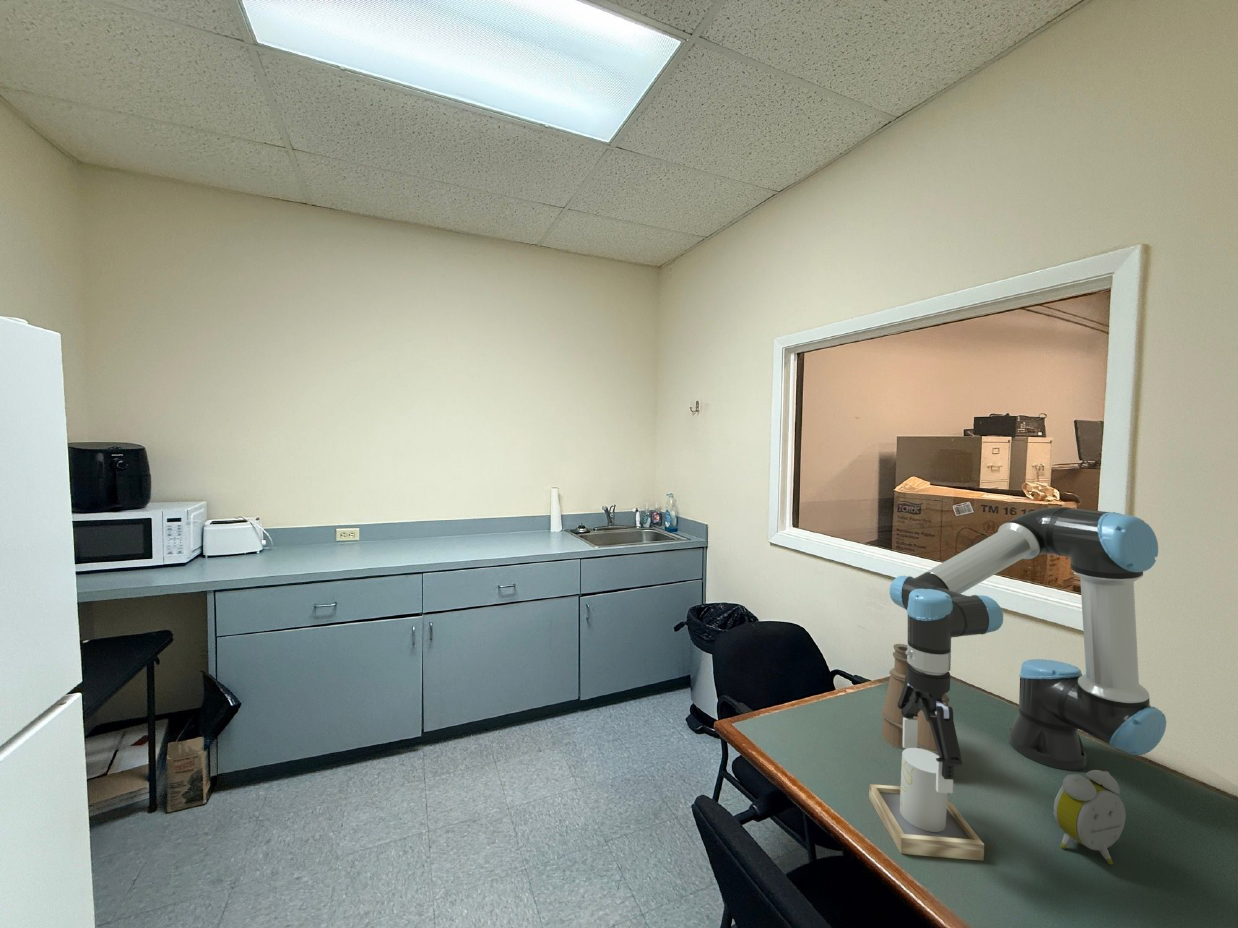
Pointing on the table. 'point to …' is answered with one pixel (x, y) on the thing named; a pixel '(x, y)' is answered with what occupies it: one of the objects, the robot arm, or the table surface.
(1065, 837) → the alarm clock
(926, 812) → the white cylinder
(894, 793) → the square picture frame
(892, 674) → the binoculars
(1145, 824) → the table surface
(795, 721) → the table surface
